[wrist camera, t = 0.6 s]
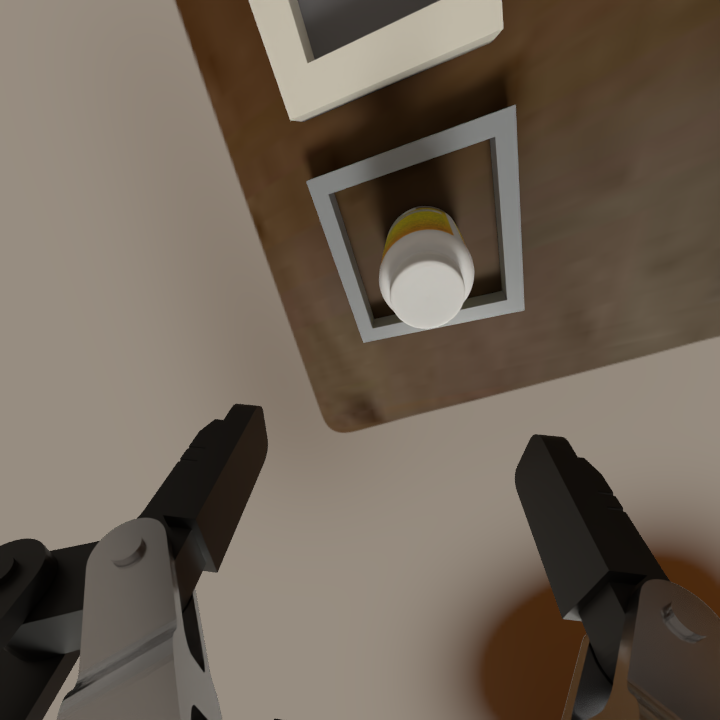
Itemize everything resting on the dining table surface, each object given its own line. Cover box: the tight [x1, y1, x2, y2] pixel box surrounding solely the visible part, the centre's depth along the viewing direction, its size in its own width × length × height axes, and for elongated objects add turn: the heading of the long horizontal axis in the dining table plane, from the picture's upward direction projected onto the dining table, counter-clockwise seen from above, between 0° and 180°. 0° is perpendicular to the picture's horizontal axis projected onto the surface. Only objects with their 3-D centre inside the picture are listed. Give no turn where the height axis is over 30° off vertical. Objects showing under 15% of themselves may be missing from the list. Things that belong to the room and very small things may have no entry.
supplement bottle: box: [379, 206, 474, 329], centre depth 21 cm, size 6×6×10 cm
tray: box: [306, 105, 524, 343], centre depth 25 cm, size 13×13×2 cm
